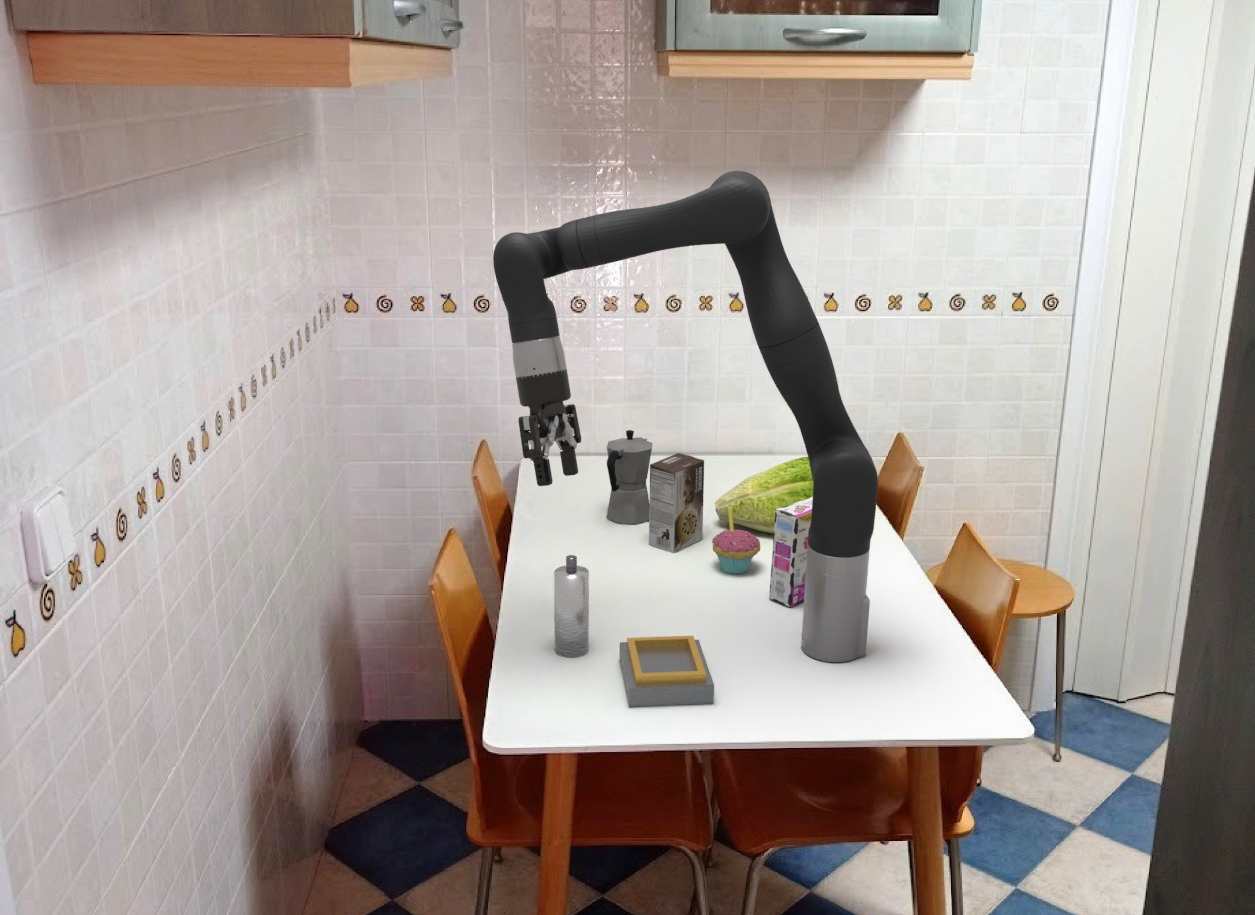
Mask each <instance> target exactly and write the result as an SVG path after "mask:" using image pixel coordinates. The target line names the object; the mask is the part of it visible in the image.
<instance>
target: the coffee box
mask: <svg viewBox="0 0 1255 915" xmlns="http://www.w3.org/2000/svg"><path fill="white" fill-rule="evenodd" d="M704 482H705V459H701V458H698V457H695V456H692V455H688V454H684V453H681V452H678V453H674V454H673V455H670V456H668V457H665V458H662V459H659V460H658V461H656V462H653V463H651V464H650V463H649V504H650V506H649V520H648V545H649V546H651V547H654V548H657V549H660V550H664V551H666V552H669V553H672V554H676V553H677V552H680V551H681V550H684V549H686V548H687V547H689V546H691V545H693V544H695V543H697V542H699V541H701V540H703V530H704V529H703V528H704V524H703V523H704V493H705V492H704V487H705V486H704V485H705V483H704Z"/></svg>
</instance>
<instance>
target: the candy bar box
mask: <svg viewBox="0 0 1255 915" xmlns="http://www.w3.org/2000/svg"><path fill="white" fill-rule="evenodd" d="M812 501H813V496H812V497H810V498H807V499H804V500H801V501H799V502H796V503H793V504H790V505H787V506H784V507H782V508H779V509H776V510H775V524H774V534H773V542H772V556H771V568H770V569H771V570H770V579H769V580H770V581H769V582H770V584H769V596H768V599H769V600H770V601H773V602H775V603H778V604H779V605H782V606H784V607H787V608H793V607H795V606H797V605H799V604H801V603H804V594H805V578H806V563H807V547H808V531H809V527H810V524H811V516H812Z"/></svg>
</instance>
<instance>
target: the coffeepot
mask: <svg viewBox="0 0 1255 915" xmlns="http://www.w3.org/2000/svg"><path fill="white" fill-rule="evenodd" d="M634 433H635V431H634V430H632V429H628V430H626V431H625V434H626V435H625V436H626V437H624V438H623V437H621V438H617V439H614V440H609V441H608V442H607V445H606V451H607V460H606V467H607V472H608V477H609V483H610V488H611V489H610V494H609V495H610V497H609V499H608V500H609V501H608V506H607V511H606V512H607V513H606V519H607V520H608V521H610V522H612V523H615V524H618V525H627V526H630V525H631V526H632V525H633V526H634V525H640V524H644V523H647V522H649V506H650V497H649V492H648V486H647V479H648V474H649V470H650V462H651V455H652V450H653V442H650V441H647V440H648V438H644V437H638V436H637V437H634Z"/></svg>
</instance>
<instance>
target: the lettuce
mask: <svg viewBox="0 0 1255 915" xmlns="http://www.w3.org/2000/svg"><path fill="white" fill-rule="evenodd" d="M813 484H814V483H813V479H812V474H811V468H810V462H809V459H808V456H803V457H802V456H801V457H799V458H795V459H792V460H789V461H785V462H782V463H780V464H777V465H775V466H772V467H771V468H769V469H766V470H764V471H762V472H759V473H756V474H753V475H750V476H748V477H746V478H745V479H744V480H742V481H741V482H739V483H738V484H736V485H735V486H733V487H732V488H731V489H730V490H728V491H727V492H725V493H724V494H723V495H721V496H720V497H719V498H718V499H717V500H715V502H714V506H715V509H714V510H715V513H716V515H717V518H718V519H719V520H720V521H723V522H726V523H729V513H728V507H729V504H728V503H730V507H732V517H733V524H737V525H740V526H743V527H744V528H745V527H746V528H748V529H752V530H755V531H759V532H762V533H766V534H773V535H774V524H775V510H776V509H779V508H782V507H784V506H787V505H790V504H793V503H796V502H799V501H801V500H804V499H807V498H810V497H812V496H813Z"/></svg>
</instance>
